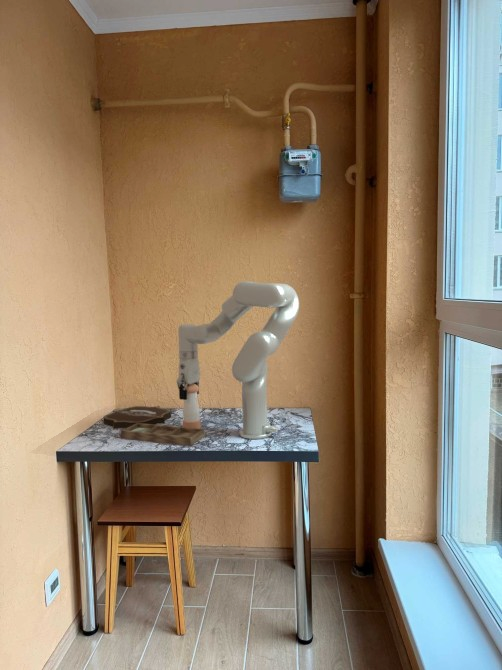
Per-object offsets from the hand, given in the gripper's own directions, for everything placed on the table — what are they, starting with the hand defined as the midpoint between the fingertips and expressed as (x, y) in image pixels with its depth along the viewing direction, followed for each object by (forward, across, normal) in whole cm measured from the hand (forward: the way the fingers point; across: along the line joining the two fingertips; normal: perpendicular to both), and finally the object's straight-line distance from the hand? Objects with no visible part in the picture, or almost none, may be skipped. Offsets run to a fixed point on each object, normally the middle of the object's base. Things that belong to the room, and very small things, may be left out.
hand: (189, 396), depth 189 cm
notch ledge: (+13, -14, +4) cm, 20 cm away
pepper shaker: (+13, 0, -1) cm, 13 cm away
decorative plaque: (+14, +5, +29) cm, 33 cm away
